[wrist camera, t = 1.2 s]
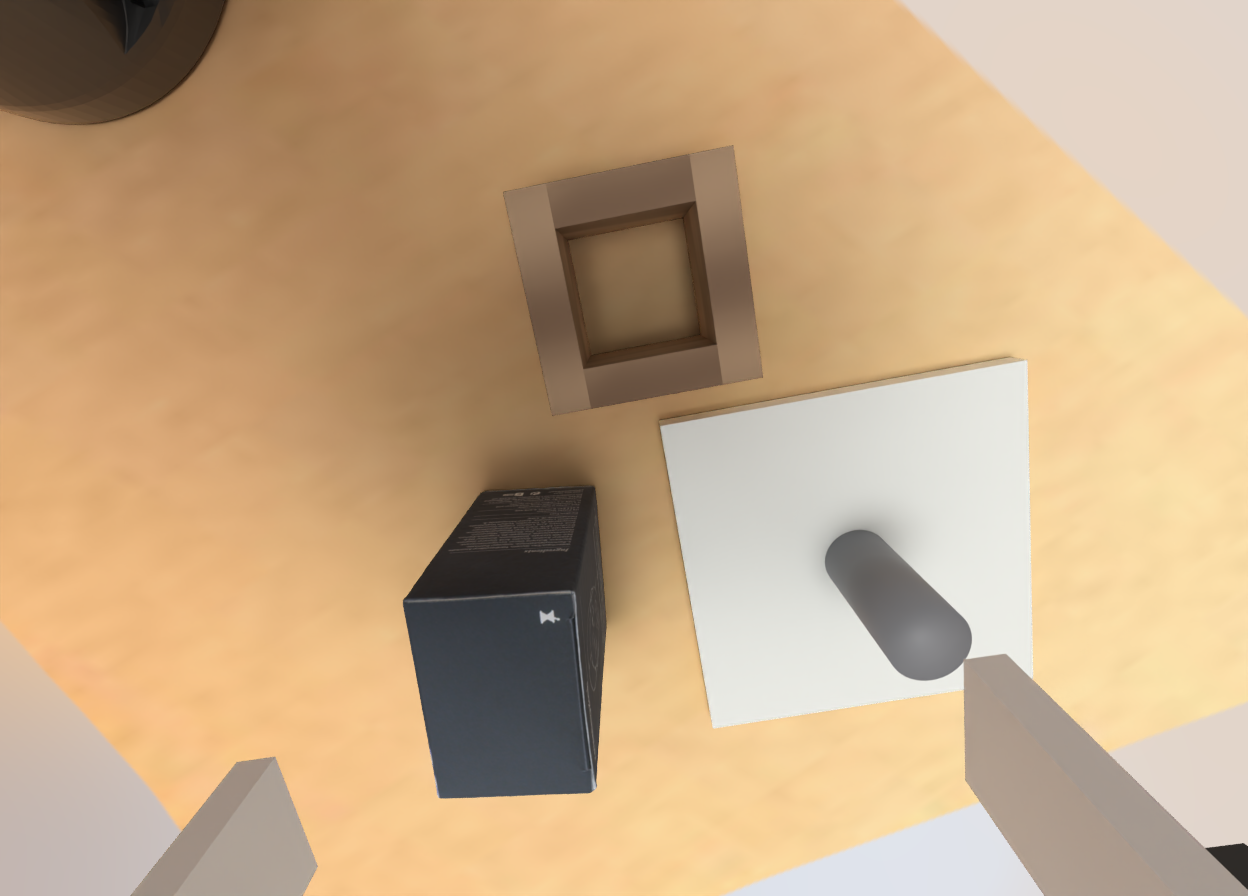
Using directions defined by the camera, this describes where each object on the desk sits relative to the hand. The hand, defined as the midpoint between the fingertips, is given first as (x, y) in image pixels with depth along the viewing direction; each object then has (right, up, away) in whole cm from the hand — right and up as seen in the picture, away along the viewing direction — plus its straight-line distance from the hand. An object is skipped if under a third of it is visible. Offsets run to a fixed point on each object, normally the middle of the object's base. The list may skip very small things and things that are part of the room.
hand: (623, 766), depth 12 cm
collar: (+1, +13, +15) cm, 20 cm away
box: (-4, +1, +18) cm, 19 cm away
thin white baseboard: (+11, +1, +18) cm, 21 cm away
